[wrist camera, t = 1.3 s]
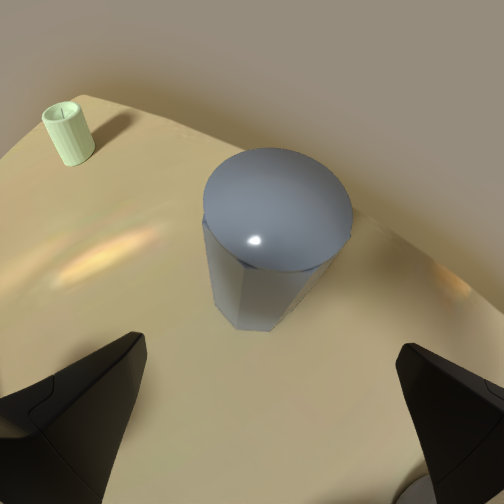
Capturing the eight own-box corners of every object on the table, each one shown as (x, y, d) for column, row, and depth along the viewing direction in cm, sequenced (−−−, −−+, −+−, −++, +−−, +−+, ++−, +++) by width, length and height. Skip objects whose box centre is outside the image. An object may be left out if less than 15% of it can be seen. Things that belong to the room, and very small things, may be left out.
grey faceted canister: (293, 260, 24) (341, 157, 13) (293, 333, 21) (362, 274, 10) (219, 254, 24) (214, 142, 13) (211, 328, 21) (191, 261, 10)
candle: (97, 137, 31) (80, 90, 23) (93, 160, 28) (72, 109, 21) (67, 148, 30) (47, 104, 22) (61, 171, 27) (36, 125, 20)
